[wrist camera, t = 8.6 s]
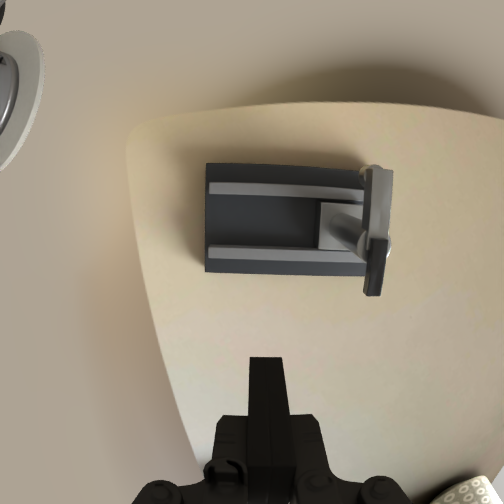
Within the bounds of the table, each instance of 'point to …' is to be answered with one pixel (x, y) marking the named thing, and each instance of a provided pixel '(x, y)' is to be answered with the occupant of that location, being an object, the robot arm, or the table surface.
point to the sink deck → (274, 219)
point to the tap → (361, 225)
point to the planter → (469, 493)
